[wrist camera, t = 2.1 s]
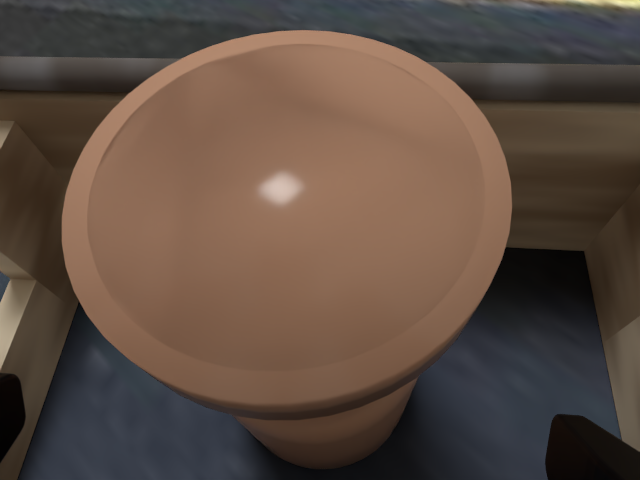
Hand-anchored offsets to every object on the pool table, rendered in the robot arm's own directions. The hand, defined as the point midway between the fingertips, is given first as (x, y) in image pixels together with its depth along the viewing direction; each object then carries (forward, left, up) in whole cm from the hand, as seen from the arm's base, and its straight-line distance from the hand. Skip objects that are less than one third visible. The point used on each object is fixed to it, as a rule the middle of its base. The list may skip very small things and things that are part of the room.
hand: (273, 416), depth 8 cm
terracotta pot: (+3, +2, -10) cm, 11 cm away
